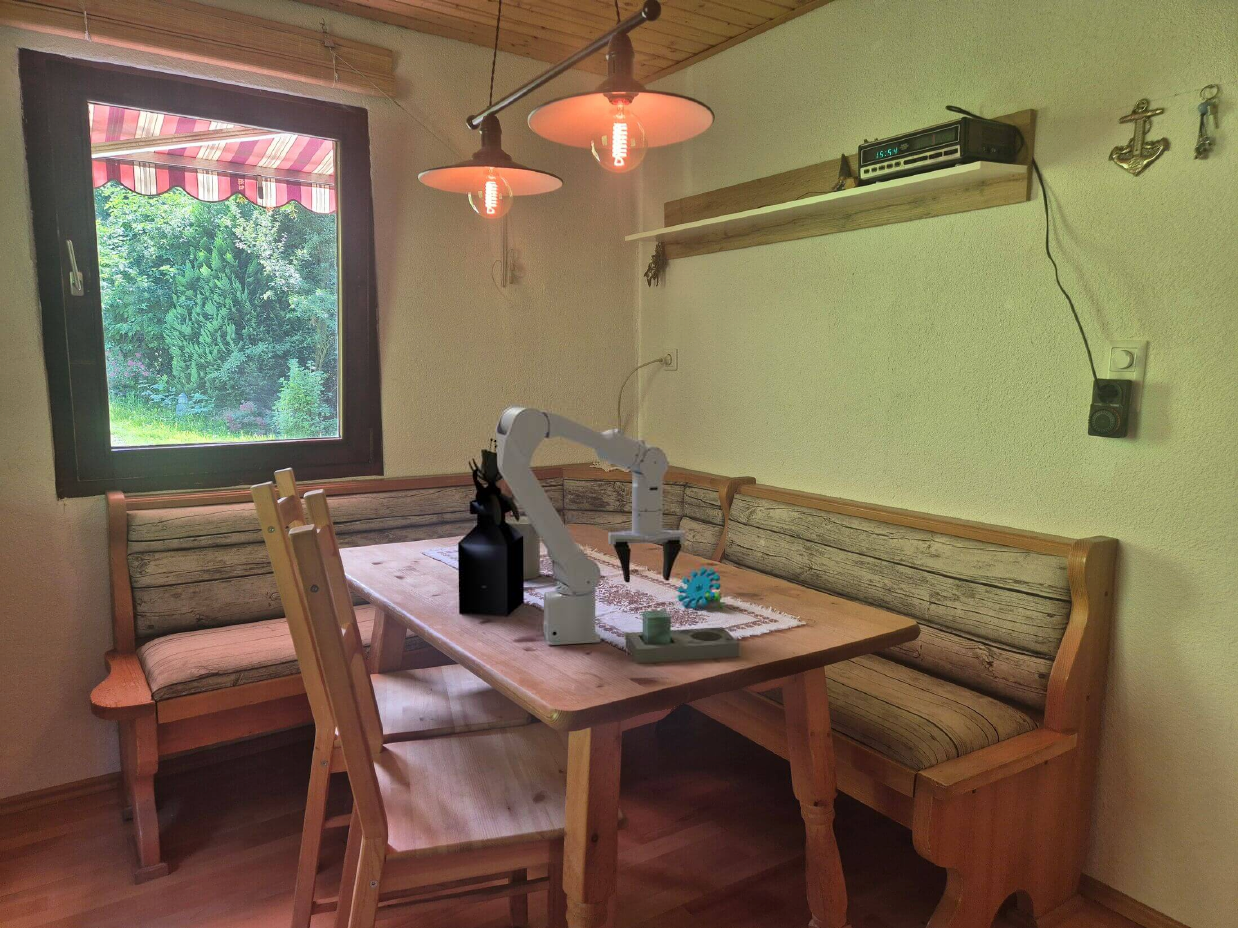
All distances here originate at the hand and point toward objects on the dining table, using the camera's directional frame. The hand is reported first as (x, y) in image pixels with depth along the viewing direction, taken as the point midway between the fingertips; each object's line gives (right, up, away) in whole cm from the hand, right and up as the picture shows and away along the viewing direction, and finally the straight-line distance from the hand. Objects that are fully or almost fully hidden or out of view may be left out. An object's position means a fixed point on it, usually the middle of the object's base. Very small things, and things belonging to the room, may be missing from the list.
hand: (646, 580), depth 157 cm
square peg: (+1, -11, -13) cm, 17 cm away
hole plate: (+6, -11, -12) cm, 17 cm away
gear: (+12, -8, +17) cm, 22 cm away
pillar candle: (-29, -5, +42) cm, 51 cm away
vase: (-31, -8, +14) cm, 35 cm away
